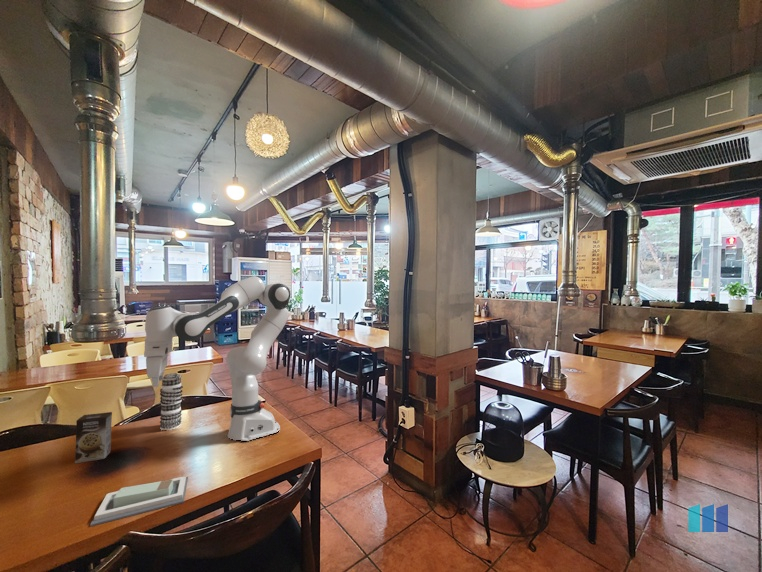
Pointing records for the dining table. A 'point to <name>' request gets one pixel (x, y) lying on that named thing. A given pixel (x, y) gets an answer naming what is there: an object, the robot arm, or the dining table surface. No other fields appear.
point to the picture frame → (139, 504)
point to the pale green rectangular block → (142, 493)
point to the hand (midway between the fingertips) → (157, 383)
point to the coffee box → (93, 437)
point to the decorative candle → (171, 401)
